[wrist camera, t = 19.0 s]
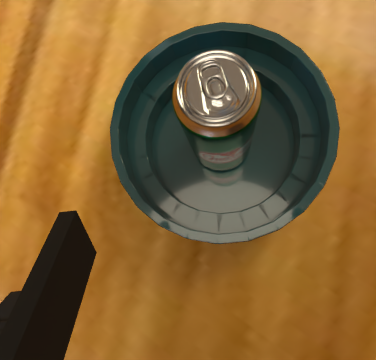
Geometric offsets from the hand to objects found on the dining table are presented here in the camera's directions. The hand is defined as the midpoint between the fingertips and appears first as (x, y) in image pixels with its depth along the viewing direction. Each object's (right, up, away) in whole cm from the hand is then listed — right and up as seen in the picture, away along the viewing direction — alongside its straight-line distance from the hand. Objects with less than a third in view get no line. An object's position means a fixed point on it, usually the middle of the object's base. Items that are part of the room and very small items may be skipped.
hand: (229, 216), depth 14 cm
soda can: (+1, +5, +15) cm, 16 cm away
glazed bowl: (+1, +5, +16) cm, 16 cm away
